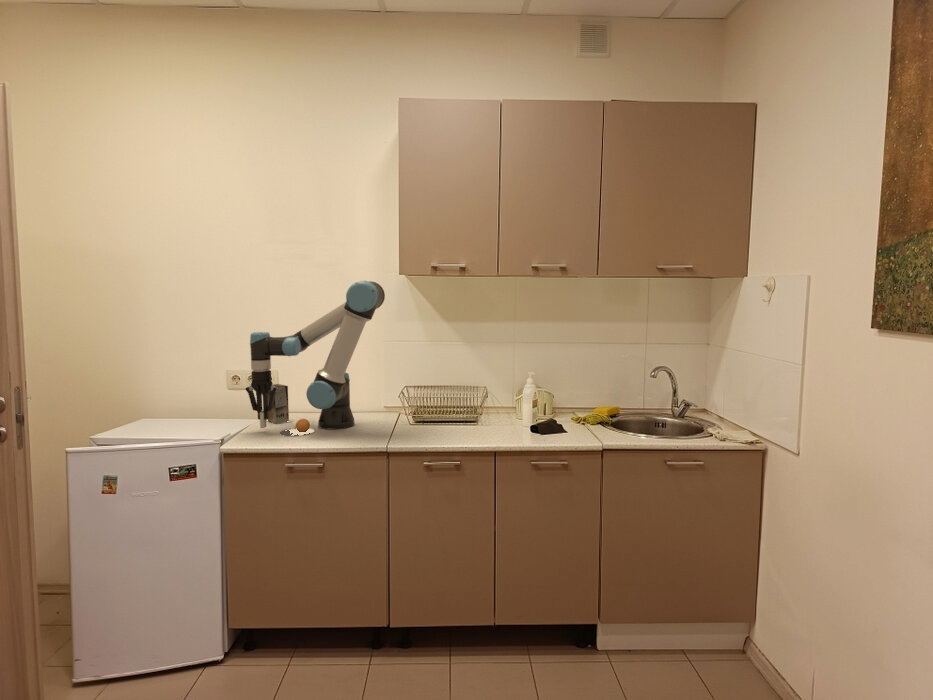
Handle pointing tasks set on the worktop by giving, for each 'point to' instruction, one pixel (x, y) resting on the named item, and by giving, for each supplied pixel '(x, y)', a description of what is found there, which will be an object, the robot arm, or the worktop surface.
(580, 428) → the worktop surface
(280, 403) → the coffee box
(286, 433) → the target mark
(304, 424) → the ball
